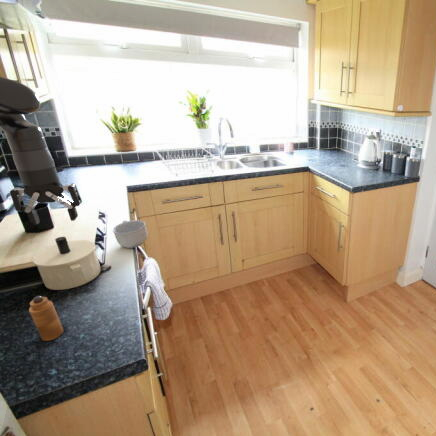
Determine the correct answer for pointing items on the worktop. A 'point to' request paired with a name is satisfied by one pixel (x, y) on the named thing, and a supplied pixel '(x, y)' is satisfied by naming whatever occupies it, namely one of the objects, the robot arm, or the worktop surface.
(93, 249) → the pot lid
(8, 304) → the worktop surface
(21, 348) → the worktop surface
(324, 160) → the worktop surface
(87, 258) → the pot
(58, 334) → the pepper mill
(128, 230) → the teacup
